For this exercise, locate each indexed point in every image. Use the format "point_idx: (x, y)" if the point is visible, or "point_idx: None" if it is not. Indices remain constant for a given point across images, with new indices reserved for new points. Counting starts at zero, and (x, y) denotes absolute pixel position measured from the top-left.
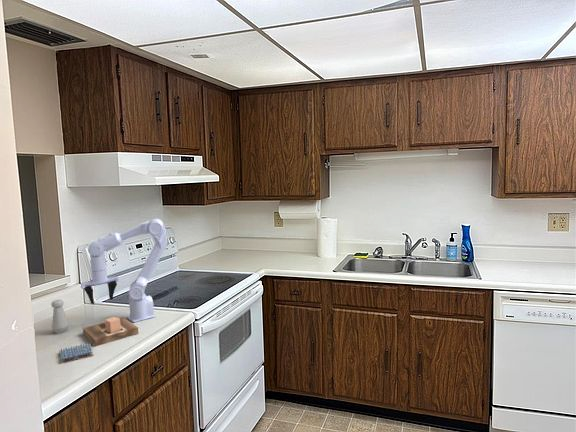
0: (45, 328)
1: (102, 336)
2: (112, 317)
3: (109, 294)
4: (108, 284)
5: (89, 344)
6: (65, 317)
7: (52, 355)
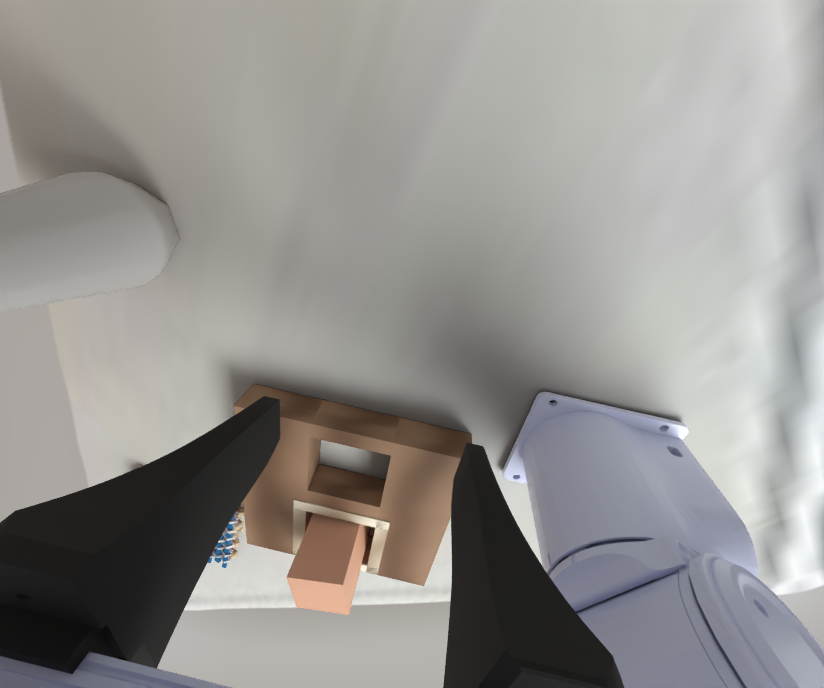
0: (29, 13)
1: (279, 543)
2: (330, 584)
3: (468, 490)
4: (481, 656)
5: (233, 522)
6: (97, 275)
7: (115, 461)
